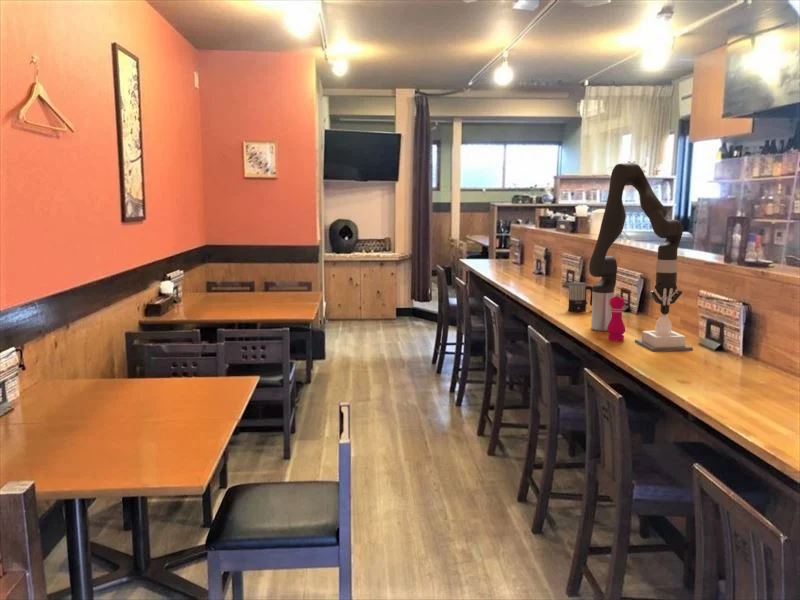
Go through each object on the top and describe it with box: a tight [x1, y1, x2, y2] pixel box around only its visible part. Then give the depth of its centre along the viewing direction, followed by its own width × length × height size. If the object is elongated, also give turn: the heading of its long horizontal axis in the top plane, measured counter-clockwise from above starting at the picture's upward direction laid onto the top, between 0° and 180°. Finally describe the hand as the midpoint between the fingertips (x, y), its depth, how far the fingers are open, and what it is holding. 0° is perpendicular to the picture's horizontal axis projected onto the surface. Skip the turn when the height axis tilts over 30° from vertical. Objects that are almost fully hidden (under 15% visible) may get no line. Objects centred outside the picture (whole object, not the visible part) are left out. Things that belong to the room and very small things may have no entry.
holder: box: [634, 329, 694, 352], centre depth 247 cm, size 16×16×5 cm
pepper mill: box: [606, 292, 626, 342], centre depth 258 cm, size 7×7×20 cm
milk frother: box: [567, 281, 593, 313], centre depth 329 cm, size 14×16×15 cm
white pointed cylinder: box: [654, 313, 672, 336], centre depth 247 cm, size 6×12×6 cm
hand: (664, 314), depth 246 cm, fingers closed
